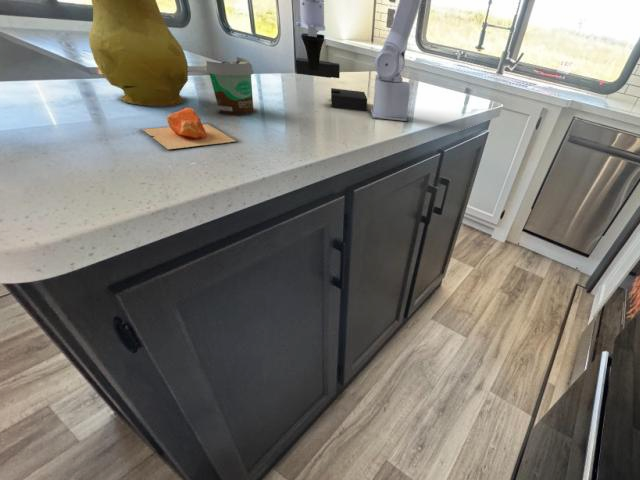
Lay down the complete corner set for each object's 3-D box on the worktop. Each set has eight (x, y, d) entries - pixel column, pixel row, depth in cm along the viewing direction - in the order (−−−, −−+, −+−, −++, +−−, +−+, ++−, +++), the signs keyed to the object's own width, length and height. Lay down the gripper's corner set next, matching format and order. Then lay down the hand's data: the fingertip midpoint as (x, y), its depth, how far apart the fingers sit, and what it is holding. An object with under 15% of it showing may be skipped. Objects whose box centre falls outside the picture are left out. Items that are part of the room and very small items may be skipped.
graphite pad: (363, 103, 104) (364, 91, 102) (366, 110, 97) (367, 99, 95) (331, 99, 102) (331, 88, 100) (331, 107, 95) (331, 95, 93)
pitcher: (97, 105, 69) (33, -72, 53) (118, 90, 82) (72, -55, 67) (193, 112, 75) (160, -45, 60) (198, 97, 88) (172, -34, 73)
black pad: (338, 75, 94) (339, 63, 92) (339, 79, 91) (339, 65, 89) (297, 70, 92) (296, 57, 90) (296, 73, 88) (295, 60, 86)
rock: (168, 150, 57) (159, 123, 54) (142, 130, 62) (132, 104, 60) (236, 141, 64) (232, 117, 61) (207, 124, 70) (202, 100, 67)
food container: (241, 119, 75) (232, 66, 69) (215, 114, 75) (204, 61, 69) (268, 109, 84) (262, 61, 78) (245, 104, 85) (238, 56, 78)
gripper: (296, -2, 86) (300, 62, 95) (292, -2, 75) (297, 70, 84) (324, 3, 87) (325, 65, 96) (324, 4, 77) (325, 74, 86)
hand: (314, 68), depth 90 cm, fingers closed on black pad, 5 cm apart
